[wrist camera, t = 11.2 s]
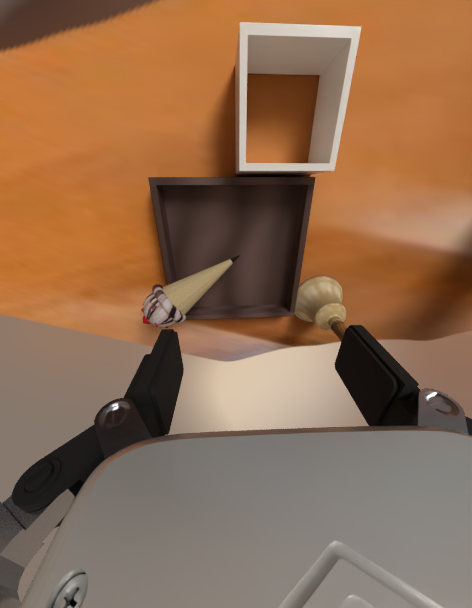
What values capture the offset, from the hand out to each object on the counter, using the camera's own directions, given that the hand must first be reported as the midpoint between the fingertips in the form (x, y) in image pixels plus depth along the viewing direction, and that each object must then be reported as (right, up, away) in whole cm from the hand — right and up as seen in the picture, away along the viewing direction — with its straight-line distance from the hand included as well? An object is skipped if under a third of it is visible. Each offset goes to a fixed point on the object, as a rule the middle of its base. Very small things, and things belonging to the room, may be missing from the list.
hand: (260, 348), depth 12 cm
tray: (-2, +10, +18) cm, 20 cm away
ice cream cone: (-1, +9, +16) cm, 19 cm away
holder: (+3, +22, +11) cm, 25 cm away
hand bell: (+12, +3, +23) cm, 26 cm away
